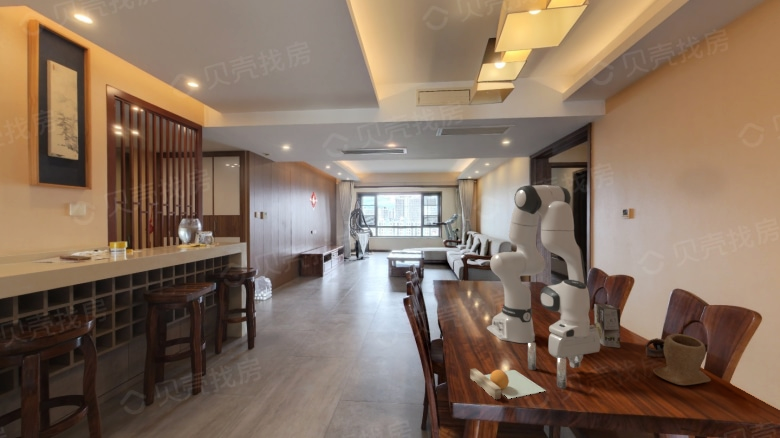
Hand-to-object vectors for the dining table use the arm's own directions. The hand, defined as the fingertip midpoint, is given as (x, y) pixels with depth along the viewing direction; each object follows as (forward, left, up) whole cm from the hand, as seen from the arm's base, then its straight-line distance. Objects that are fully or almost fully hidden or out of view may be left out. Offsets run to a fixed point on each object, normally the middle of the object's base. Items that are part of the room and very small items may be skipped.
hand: (575, 366), depth 107 cm
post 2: (+6, -13, -2) cm, 15 cm away
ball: (+1, -33, +1) cm, 33 cm away
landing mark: (0, -27, -2) cm, 27 cm away
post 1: (-6, -13, -2) cm, 15 cm away
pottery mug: (+2, +42, -2) cm, 42 cm away
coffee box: (-15, +36, -2) cm, 39 cm away
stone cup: (+16, +29, -2) cm, 33 cm away
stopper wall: (-1, -37, -2) cm, 37 cm away
